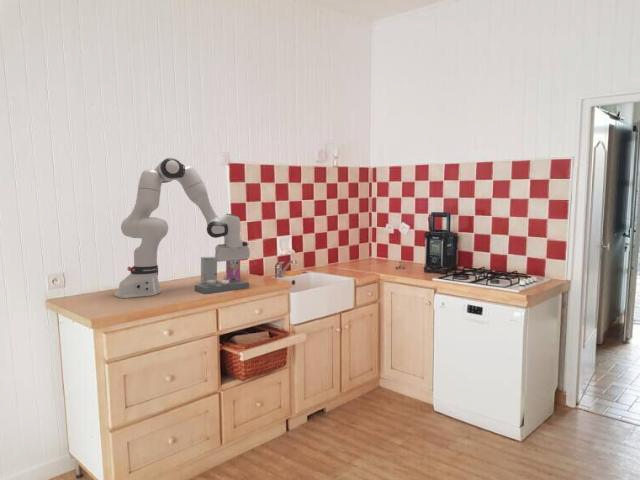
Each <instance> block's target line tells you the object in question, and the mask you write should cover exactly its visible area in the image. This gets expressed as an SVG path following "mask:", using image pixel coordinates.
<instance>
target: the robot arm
mask: <svg viewBox="0 0 640 480" xmlns="http://www.w3.org/2000/svg"><path fill="white" fill-rule="evenodd" d="M174 180H175V181H177V182H178V183H179V184H180V185H181V187H182V190H183V191H184V193H185V195H186V197H188V200H190V201H191V202H192V203H193V204H195V205H196V206H197V207H198V208H199V210H200V211H201V214H202V216H204V219H205V220H206V225H207V226H206V232H207V234H208V235H209V236H210V237H211V238H214V239H218V238H222V237H223V240H224V242H223V243H222V244H220V243H219V244H217V245H216V246H215V251H214V252H215V253H214V257H215V260H216V261H217V263H218V262H219V263H220V262H226V261H229V263H230V266H231V267H230V268H231V269H232V268H235V263H236V260H240V261H241V260H249V259H250V257H251V254H250V247H249V242H248V241H244V240H241V238H242V237H241V234H240V233H241V220H240V217H239V216H238V215H236V214H233V213H232V214H231V213H225V214H224V215H223V216H221V217H218V215H217V214H216V212H215V210H214V209H213V208H214V207H213V206H212V204H211V202H210V199H209V194H208V191H207V188H206V185H205V183H204V181H203V179H202V178H201V175H200V173H198V171H197V170H196V168H195V167H194V166H192V165H184V164H183V163H182V162H180V161H179V160H178V159H176V158H174V157H169V158H165V159H162V161H160V163H158V165H157V166H156V167H155V169H152V168H148V169H144V170H143V171H142V173H141V174H140V177H139V181H138V188H137V194H136V198H135V199H136V200H135V204H134V207H133V208H132V211H131V213H130V214H129V215H128V216H127V217H126V218H124V219H123V220H122V223H121V225H120V229H121V233H122V234H123V236H125V237H129V238H130V239H131V238H132V239H141V243H140V244H139V246H137V247H136V248H135V249H134V250H133V266H132V267H131V266H127V268H126V269H127V271H129V272H130V274H128V275H127V276H126V277H125V278H124V279H122V280H121V281H120V282H119V286H118V291H115V292H114V293H113V296H114V297H116V298H120V299H129V298H139V297H140V298H141V297H150V296H156V295H157V294H159V293H161V292H162V290H161V288H160V284H159V283H160V282H159V278H158V276H159V265H158V249H159V246H160V243H161V241H162V240H163V239H164V238H165V237H166V236H167V234H168V232H169V225H168V222H167V221H166V219H164V218H159V217H155V216H154V217H151V214H152V213H153V212H154V211H156V210H157V209H158V208H159V205H160V199H161V190H162V185H163V184H165V183H166V184H167V183H170V182H172V181H174ZM232 262H233V263H232Z"/></svg>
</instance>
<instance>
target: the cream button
mask: <svg viewBox="0 0 640 480" xmlns="http://www.w3.org/2000/svg"><path fill="white" fill-rule="evenodd" d="M220 282H221V284H222V285H227V284H229V280H227V279H221V280H220Z"/></svg>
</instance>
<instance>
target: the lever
mask: <svg viewBox="0 0 640 480" xmlns="http://www.w3.org/2000/svg"><path fill="white" fill-rule="evenodd" d="M236 267H237V264H236V263H235V268H234V270H233V276H232V277H231V280H235V278H234V275H235V270H236Z"/></svg>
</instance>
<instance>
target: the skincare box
mask: <svg viewBox="0 0 640 480" xmlns="http://www.w3.org/2000/svg"><path fill="white" fill-rule="evenodd" d="M207 280H216V282H218V261H216V260H215V256H200V282H201V284H206V283H207Z"/></svg>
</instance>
